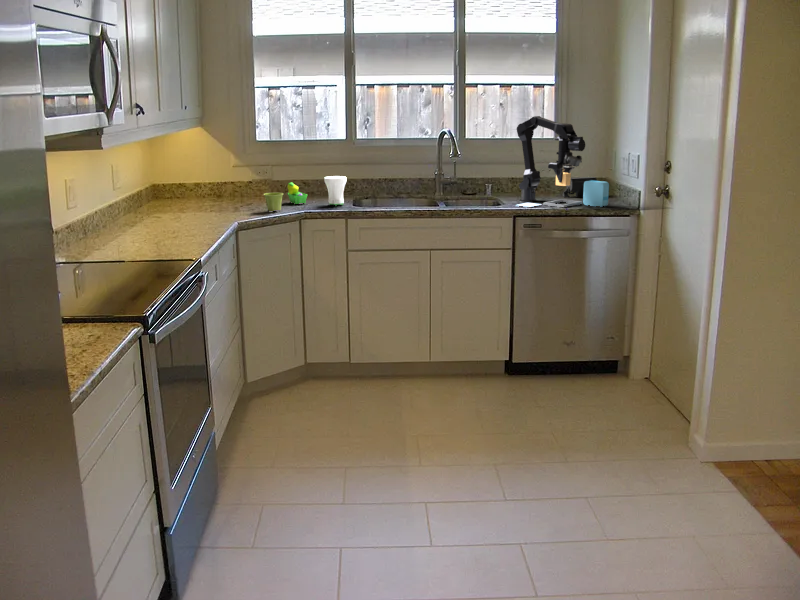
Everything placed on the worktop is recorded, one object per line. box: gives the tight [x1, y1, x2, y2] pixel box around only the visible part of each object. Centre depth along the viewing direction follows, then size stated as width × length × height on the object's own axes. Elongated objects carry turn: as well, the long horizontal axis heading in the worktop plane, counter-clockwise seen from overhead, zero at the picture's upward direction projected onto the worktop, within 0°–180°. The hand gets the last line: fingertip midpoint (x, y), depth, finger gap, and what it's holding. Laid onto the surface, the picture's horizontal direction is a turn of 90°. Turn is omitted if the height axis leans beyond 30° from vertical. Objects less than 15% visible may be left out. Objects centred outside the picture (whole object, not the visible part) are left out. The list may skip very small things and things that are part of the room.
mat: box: [515, 202, 543, 208], centre depth 385 cm, size 9×10×1 cm
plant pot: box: [263, 192, 284, 211], centre depth 376 cm, size 9×9×9 cm
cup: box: [323, 175, 348, 207], centre depth 393 cm, size 11×11×14 cm
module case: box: [542, 198, 583, 208], centre depth 386 cm, size 12×16×2 cm
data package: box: [582, 180, 610, 208], centre depth 382 cm, size 12×4×12 cm, turn 38°
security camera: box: [562, 176, 598, 198], centre depth 413 cm, size 7×18×10 cm, turn 104°
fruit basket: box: [287, 182, 308, 205], centre depth 401 cm, size 11×9×11 cm
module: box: [555, 172, 572, 187], centre depth 383 cm, size 6×4×6 cm, turn 45°
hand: (562, 182), depth 383 cm, fingers closed on module, 4 cm apart
